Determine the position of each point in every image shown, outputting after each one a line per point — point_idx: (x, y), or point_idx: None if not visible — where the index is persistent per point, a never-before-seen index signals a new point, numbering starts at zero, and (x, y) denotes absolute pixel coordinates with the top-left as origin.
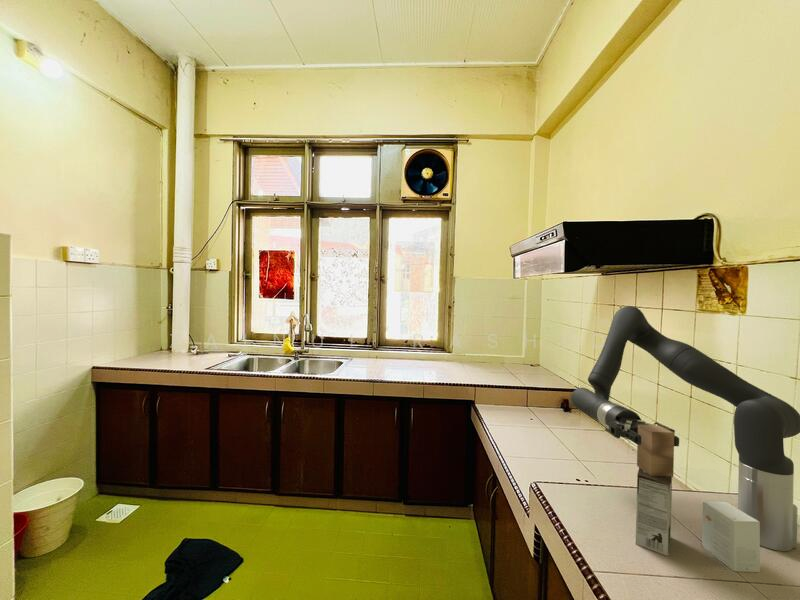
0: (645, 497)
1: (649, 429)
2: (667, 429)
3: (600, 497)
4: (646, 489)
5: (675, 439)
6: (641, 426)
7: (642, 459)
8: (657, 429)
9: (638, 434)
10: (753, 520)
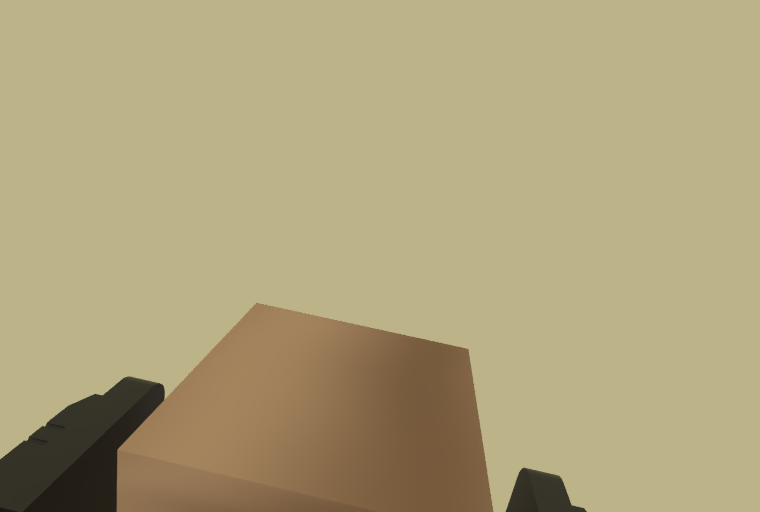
0: None
1: (451, 379)
2: (215, 346)
3: None
4: None
5: (158, 401)
6: (483, 466)
7: None
8: (350, 364)
9: (541, 488)
10: None
